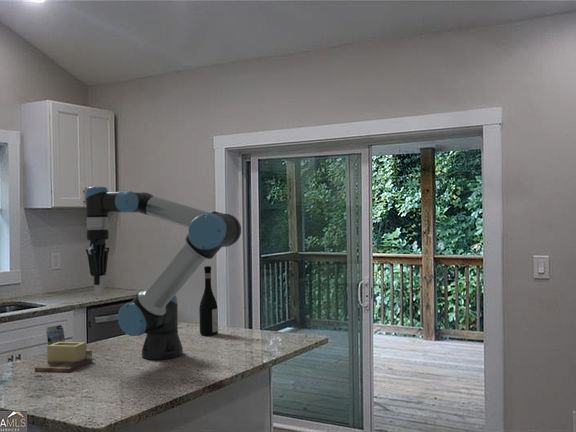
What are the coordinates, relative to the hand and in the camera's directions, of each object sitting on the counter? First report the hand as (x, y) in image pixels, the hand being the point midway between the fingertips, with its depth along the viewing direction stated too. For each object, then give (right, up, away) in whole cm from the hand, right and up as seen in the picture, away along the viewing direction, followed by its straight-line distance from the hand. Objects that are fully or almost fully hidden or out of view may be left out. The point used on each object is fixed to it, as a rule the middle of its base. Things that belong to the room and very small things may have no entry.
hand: (98, 293), depth 215 cm
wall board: (-10, -25, -8) cm, 28 cm away
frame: (-10, -23, -5) cm, 26 cm away
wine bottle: (+34, -24, +44) cm, 61 cm away
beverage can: (-18, -25, +8) cm, 32 cm away
